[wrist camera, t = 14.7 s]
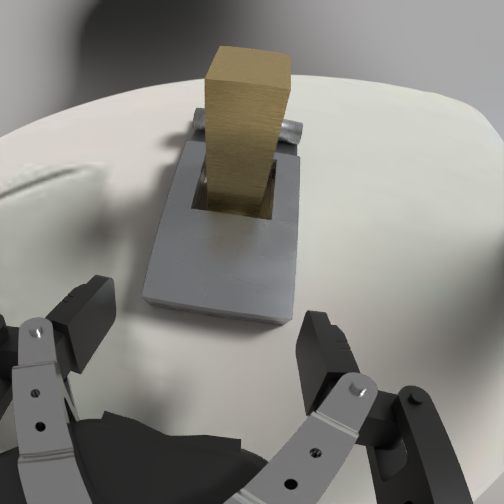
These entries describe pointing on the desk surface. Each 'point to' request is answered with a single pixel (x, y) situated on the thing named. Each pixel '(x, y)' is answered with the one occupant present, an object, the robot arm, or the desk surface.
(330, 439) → the robot arm
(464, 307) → the desk surface
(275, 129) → the pine wood offcut
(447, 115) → the desk surface
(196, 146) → the upper end link
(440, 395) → the desk surface
